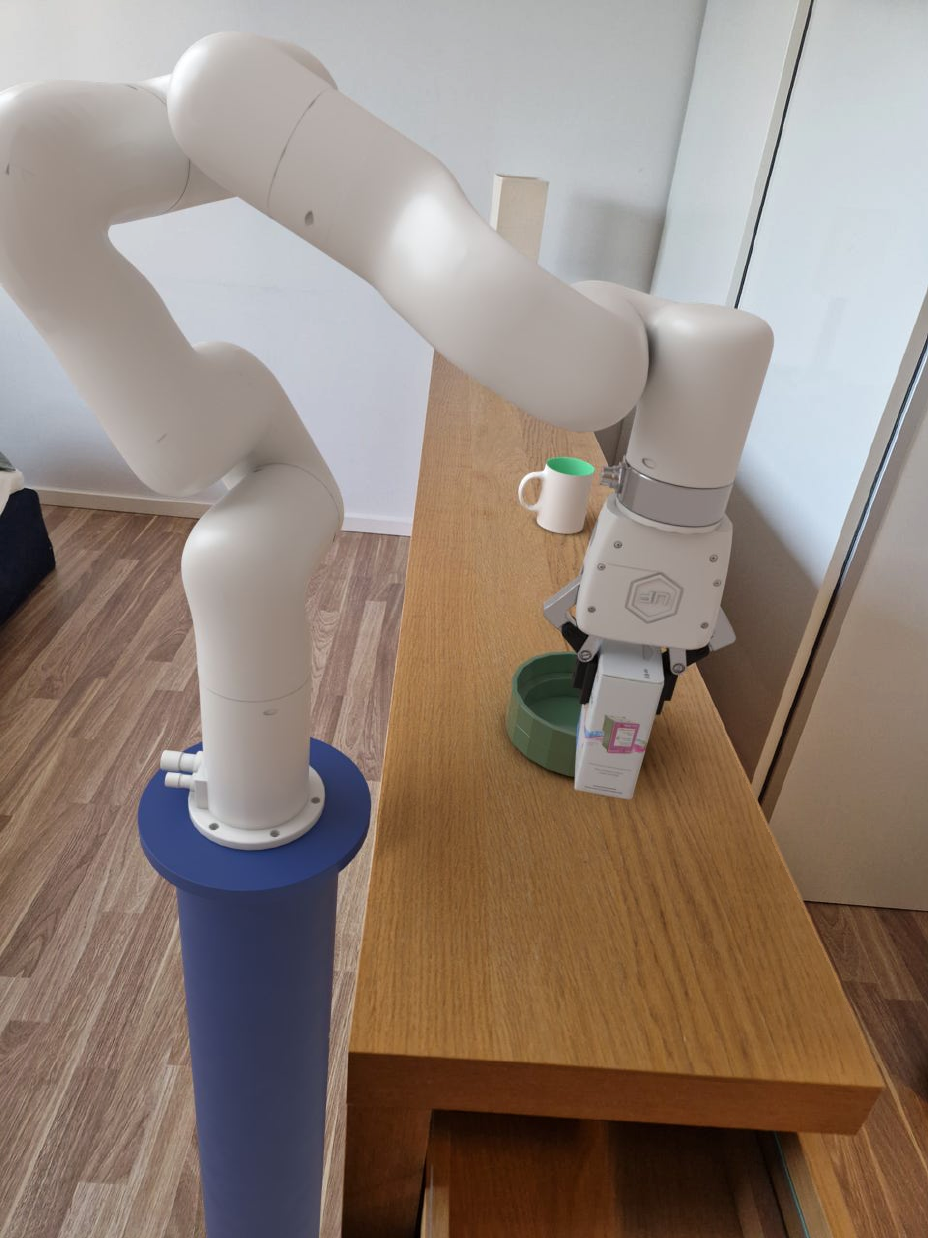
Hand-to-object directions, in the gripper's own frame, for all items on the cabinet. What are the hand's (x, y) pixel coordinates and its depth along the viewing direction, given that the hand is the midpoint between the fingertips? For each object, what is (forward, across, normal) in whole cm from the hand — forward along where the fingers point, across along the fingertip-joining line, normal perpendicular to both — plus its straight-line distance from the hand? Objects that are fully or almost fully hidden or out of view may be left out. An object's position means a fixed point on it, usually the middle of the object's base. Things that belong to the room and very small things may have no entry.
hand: (618, 697), depth 70 cm
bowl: (+21, +1, +22) cm, 31 cm away
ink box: (+7, 0, 0) cm, 7 cm away
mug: (+21, -1, +79) cm, 82 cm away
